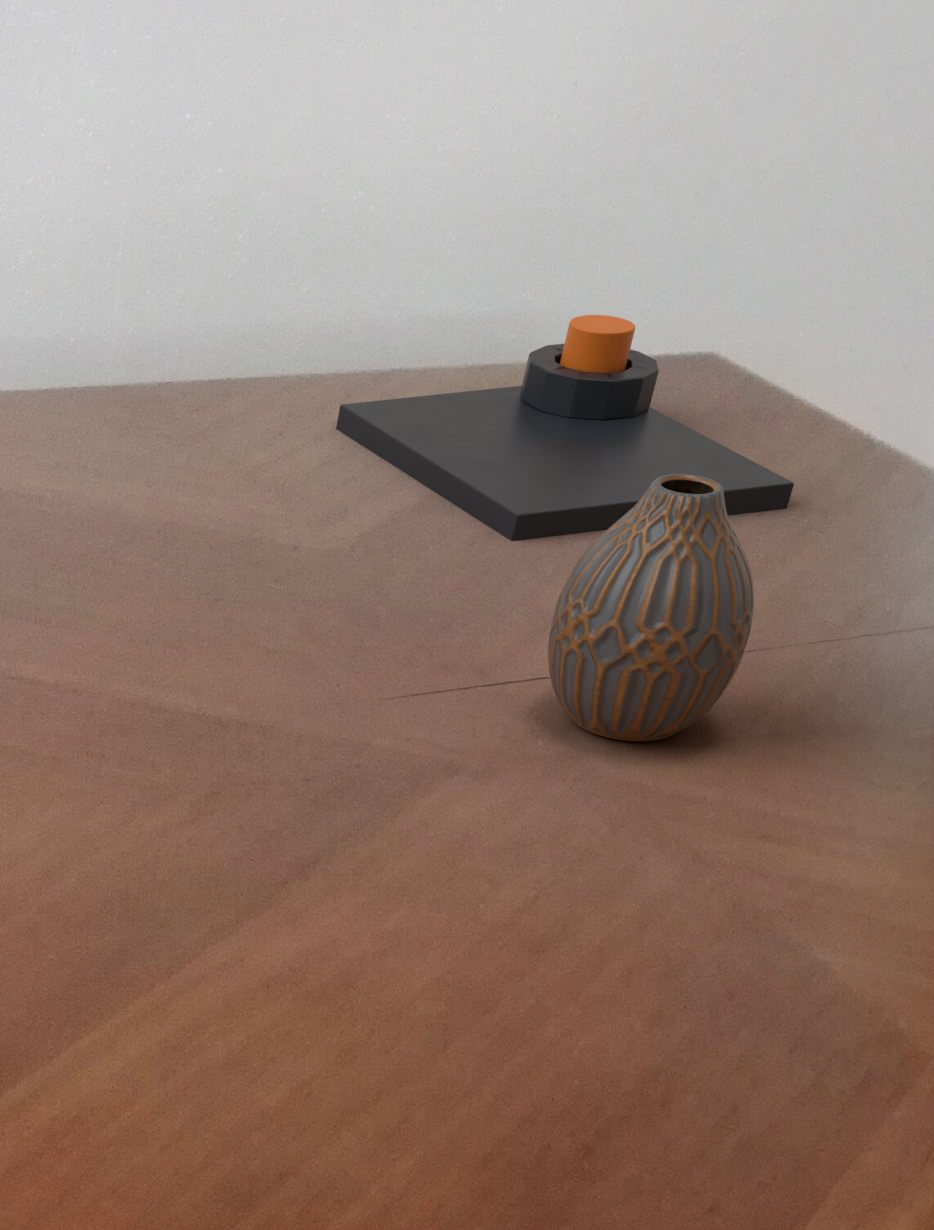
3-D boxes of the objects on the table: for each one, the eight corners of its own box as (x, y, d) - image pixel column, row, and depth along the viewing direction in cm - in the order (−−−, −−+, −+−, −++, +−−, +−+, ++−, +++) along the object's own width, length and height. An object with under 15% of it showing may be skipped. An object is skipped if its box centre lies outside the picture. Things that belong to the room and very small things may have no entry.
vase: (497, 724, 94) (553, 487, 88) (581, 670, 97) (640, 440, 92) (670, 775, 90) (740, 532, 84) (750, 717, 94) (823, 481, 88)
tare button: (636, 375, 117) (648, 329, 116) (581, 381, 117) (592, 335, 115) (601, 357, 119) (612, 312, 118) (546, 363, 119) (557, 317, 117)
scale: (795, 509, 111) (816, 440, 109) (511, 543, 108) (527, 472, 106) (596, 402, 123) (612, 338, 121) (335, 430, 120) (346, 364, 118)
